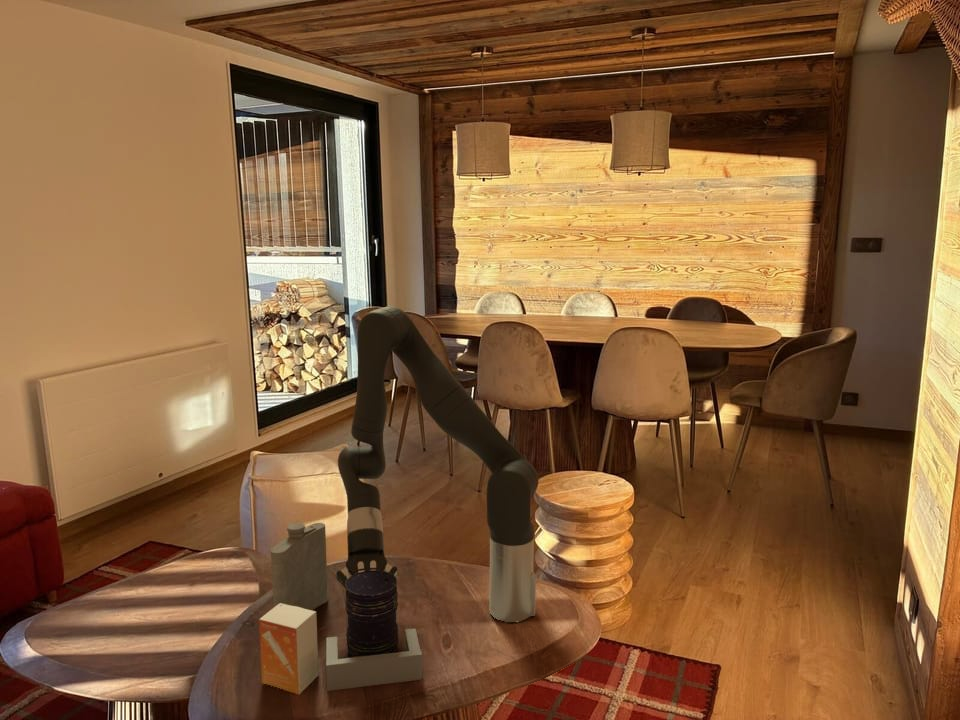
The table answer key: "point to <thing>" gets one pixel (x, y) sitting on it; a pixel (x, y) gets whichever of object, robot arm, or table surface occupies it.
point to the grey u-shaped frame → (373, 666)
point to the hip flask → (300, 567)
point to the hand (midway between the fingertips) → (369, 616)
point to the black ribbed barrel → (371, 613)
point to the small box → (289, 647)
